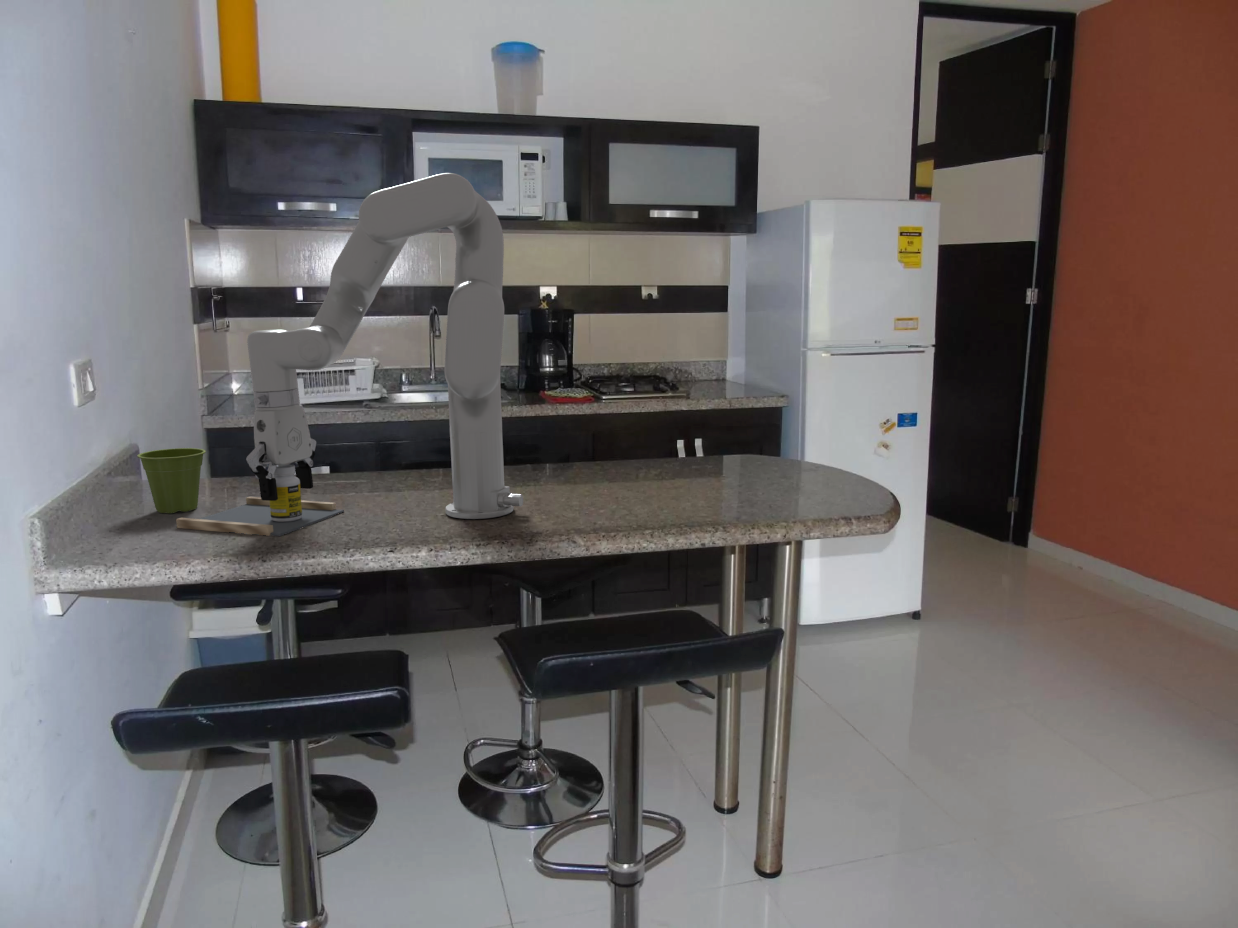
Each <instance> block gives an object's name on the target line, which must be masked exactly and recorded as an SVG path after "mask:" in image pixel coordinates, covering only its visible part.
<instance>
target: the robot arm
mask: <svg viewBox="0 0 1238 928" xmlns="http://www.w3.org/2000/svg"><path fill="white" fill-rule="evenodd" d="M444 228H448V229H449V230H451V232H452V234H453V236H454V239H455V259H454V260H455V264H454V265H455V270H454V282H453V283H454V284H453V291H452V293H451V295H450V297H449V300H448V306H447V316H446V317H447V318H446V319H447V320H446V321H447V322H446V336H445V337H446V338H445V351H444V352H445V354H444V355H445V356H444V368H443V369H444V377H445V381H446V384H447V395H448V418H449V419H448V421H449V437H450V438H449V439H450V441H449V442H450V458H451V459H450V461H451V477H452V479H451V481H452V496H453V497H452V498H453V500H452V501H453V502H451V503H449V504H448V505H446V506H445V514H446V515H447V516H449V517H451V518H455V519H463V520H464V519H465V520H481V519H493V518H498V517H502V516H506V515H509V514H510V513H512V512H513V511H514V507H522V506H523V504H524V497H523V494H522V493H521V494H520V493H511V492H510V490H511V489H510V486H508V485H505V473H504V471H505V470H504V469H505V468H504V445H503V444H504V443H503V419H502V418H503V417H502V415H503V414H502V394H501V393H502V392H501V391H502V390H501V389H502V388H501V365H502V355H503V353H502V352H503V351H502V350H503V341H504V340H503V337H504V323H505V304H504V299H503V282H504V281H503V280H504V279H503V278H504V258H505V257H504V255H505V249H504V248H505V244H504V233H503V227H502V224H501V222H500V219H499V217H498V215H497V213H496V211H495V209H494V208H493V207H492V205H491V204H490V203H489V202H488V200H486V199H485V198H484V197H483V196H482V195H481V194H480V193H479V192H477V191H476V190H475V189H474V187H473V184H471V182H470V181H469V180H468V179H467V178H465V177H464V176H462V175H460V174H458V173H453V172H443V173H439V174H435V175H431V176H428V177H424V178H420V179H417V180H413V181H410V182H406V183H402V184H399V185H395V186H392V187H387V188H383V189H380V190H377V191H374V192H372V193H370V194H368V195H367V196H366V197H365V198H364V200H363V201H362V202H361V205H360V206H359V210H358V222H357V223H356V225H355V227H354V228H353V231H352V232H351V235H350V236H349V238H348V240H347V242H346V243H345V245H344V246H343V249H342V250H341V252H340V253H339V255H338V257H337V259H336V261H335V262H334V264H333V266H332V268H331V269H332V270H331V273H330V282H329V287H328V290H327V293H326V296H325V298H324V300H323V302H322V304H321V306H320V308H319V310H318V311H317V313H316V315H315V316H314V318H313V320H312V321H311V323H310V325H309V326H307V327H303V328H298V329H294V330H286V329H265V330H264V329H263V330H254V331H252V332H250V333H249V334H248V336H247V338H246V340H247V341H246V343H247V350H248V359H249V368H250V376H251V382H252V383H251V385H252V393H253V403H254V409H255V410H254V413H253V415H254V416H253V441H254V449H252V451H251V452H250V453H249V454H248V455H247V456H246V459H245V460H246V462H247V464H248V466H249V468H250V470H251V472H252V473H253V474H254V475H255V478H256V479H257V480H258V484H259V485H258V487H259V492H260V497H261V499H262V500H266V501H275V500H277V499H278V494H277V486H276V479H275V478H273V474H274V472H275V469H276V467H277V465H278V466H284V465H288V464H290V465H292V464H296V466H295V477H297V478H298V479H299V480H300V489H309V490H311V489H313V488H314V480H313V473H312V471H313V470H312V467H313V466H314V461H313V460H314V458H315V455H316V453H315V450H316V446H317V440H316V439H313V438H312V437H311V432H310V429H309V424H308V418H307V415H306V412H305V409H304V407H303V404H301V401H300V393H299V392H300V391H299V384H298V376H297V370H301V371H319V370H320V371H321V370H323V369H325V368H328V367H329V366H332V365H333V364H335V363H336V362H337V361H338V360H339V359H341V357H342V355H343V354H344V352H345V350H346V349H347V347H348V346H349V344H350V342H351V340H352V338H353V337H354V335H355V333H356V331H357V329H358V328H359V326H360V324H361V322H362V320H363V319H364V316H365V315H366V313H367V311H368V309H369V308H370V306H371V305H372V303H373V301H374V300H375V298H376V296H377V293H378V291H379V290H380V288H381V287H382V284H383V283H384V281H385V279H386V278H387V276H388V273H389V272H390V270H391V268H392V266H393V265H394V263H395V262H396V259H397V258H398V256H399V255H400V253H401V252H402V250H403V248H404V246H405V245H406V243H407V241H408V239H409V238H411V237H415V236H419V235H421V234H422V235H423V234H425V233H430V232H433V231H438V230H441V229H444ZM266 468H267V469H266Z"/></svg>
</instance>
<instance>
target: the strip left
mask: <svg viewBox="0 0 1238 928" xmlns="http://www.w3.org/2000/svg"><path fill="white" fill-rule="evenodd" d="M175 521H176V528H177V529H185V530H194V531H195V530H196V531H197V530H198V531H207V532H218V533H219V532H220V533H229V532H235V533H234V534H241V533H244V534H245V535H252V534H259V535H258V536H263V535H266V537H269V536H271V535H270V533H272V532H273V525H264V524H252V523H240V522H228V521H216V520H204V519H200V518H192V517H191V518H188V517H179V518H175ZM246 533H247V534H246ZM244 534H243V535H244Z"/></svg>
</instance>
